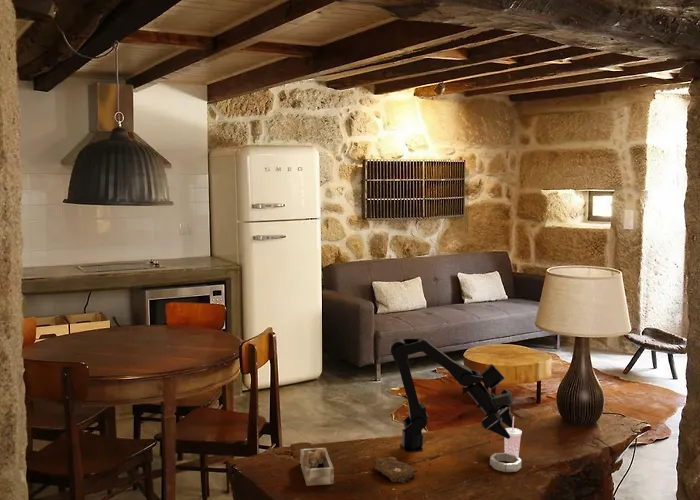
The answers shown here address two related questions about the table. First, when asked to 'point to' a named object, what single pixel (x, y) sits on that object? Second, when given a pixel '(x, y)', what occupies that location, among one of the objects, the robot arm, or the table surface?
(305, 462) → the lion figurine
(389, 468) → the decorative rock
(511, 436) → the beverage cup
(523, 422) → the table surface
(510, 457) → the cup holder ring
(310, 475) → the open figurine box
